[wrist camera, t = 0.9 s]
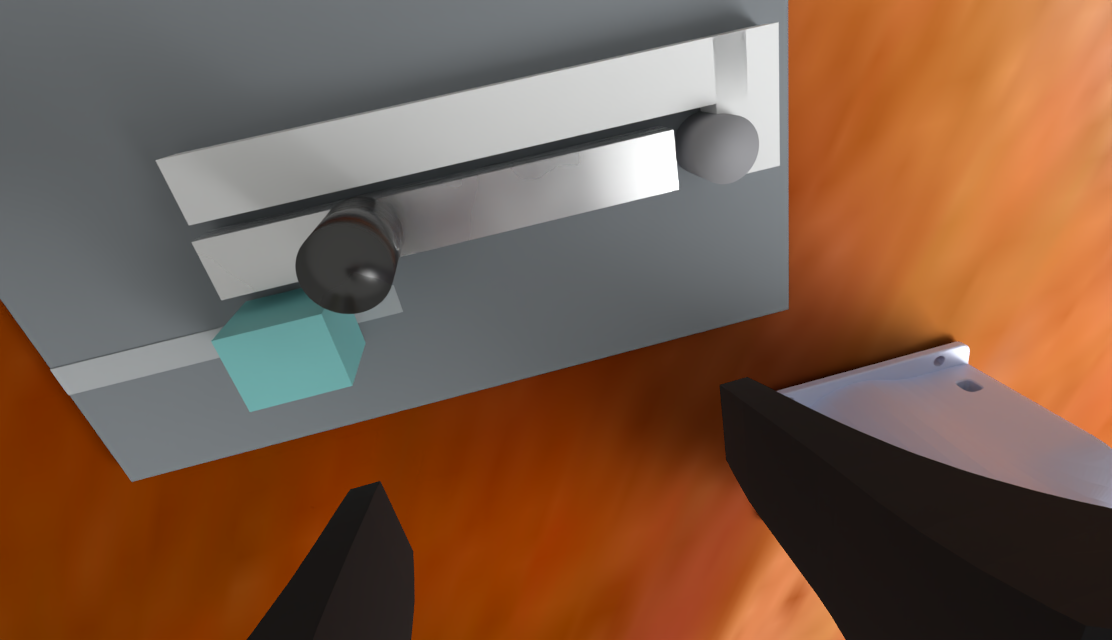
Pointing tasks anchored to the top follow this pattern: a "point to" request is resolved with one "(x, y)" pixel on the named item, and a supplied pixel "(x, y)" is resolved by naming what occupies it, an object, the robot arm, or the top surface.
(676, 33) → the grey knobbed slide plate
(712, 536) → the top surface
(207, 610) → the top surface
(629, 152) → the black knobbed slide plate
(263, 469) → the top surface
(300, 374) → the teal block
